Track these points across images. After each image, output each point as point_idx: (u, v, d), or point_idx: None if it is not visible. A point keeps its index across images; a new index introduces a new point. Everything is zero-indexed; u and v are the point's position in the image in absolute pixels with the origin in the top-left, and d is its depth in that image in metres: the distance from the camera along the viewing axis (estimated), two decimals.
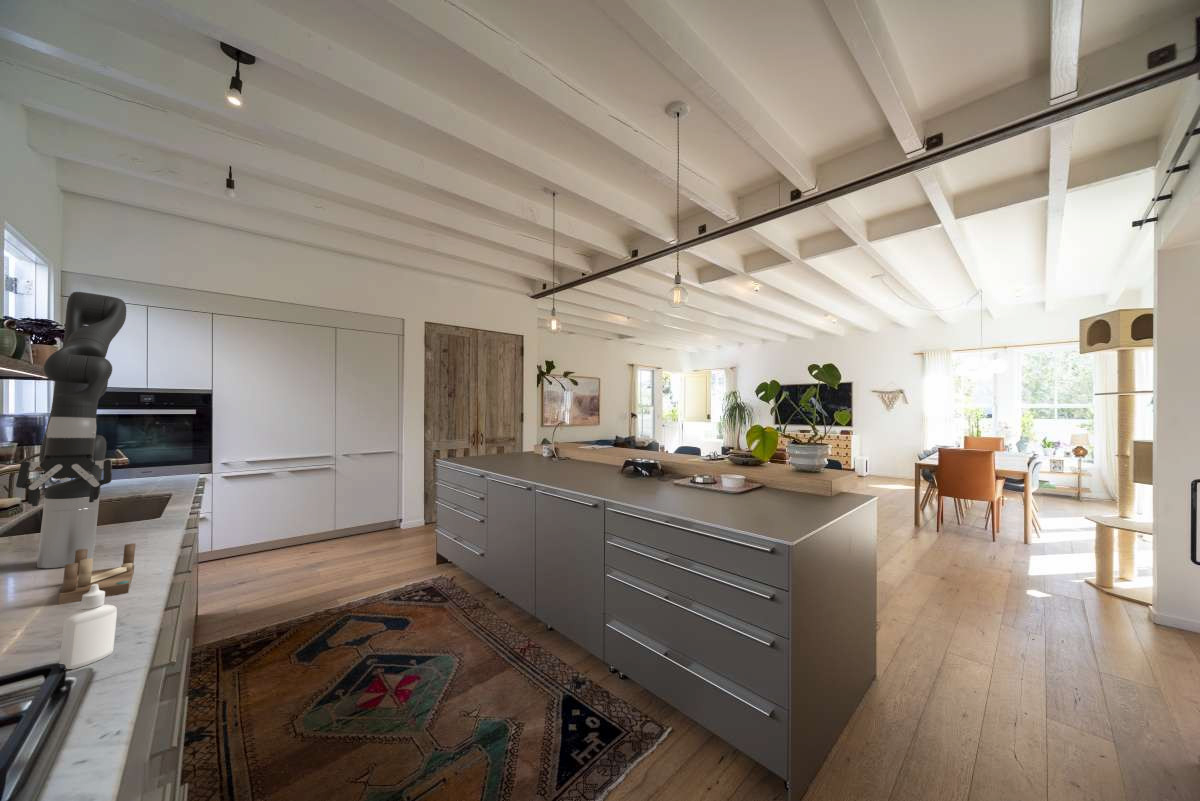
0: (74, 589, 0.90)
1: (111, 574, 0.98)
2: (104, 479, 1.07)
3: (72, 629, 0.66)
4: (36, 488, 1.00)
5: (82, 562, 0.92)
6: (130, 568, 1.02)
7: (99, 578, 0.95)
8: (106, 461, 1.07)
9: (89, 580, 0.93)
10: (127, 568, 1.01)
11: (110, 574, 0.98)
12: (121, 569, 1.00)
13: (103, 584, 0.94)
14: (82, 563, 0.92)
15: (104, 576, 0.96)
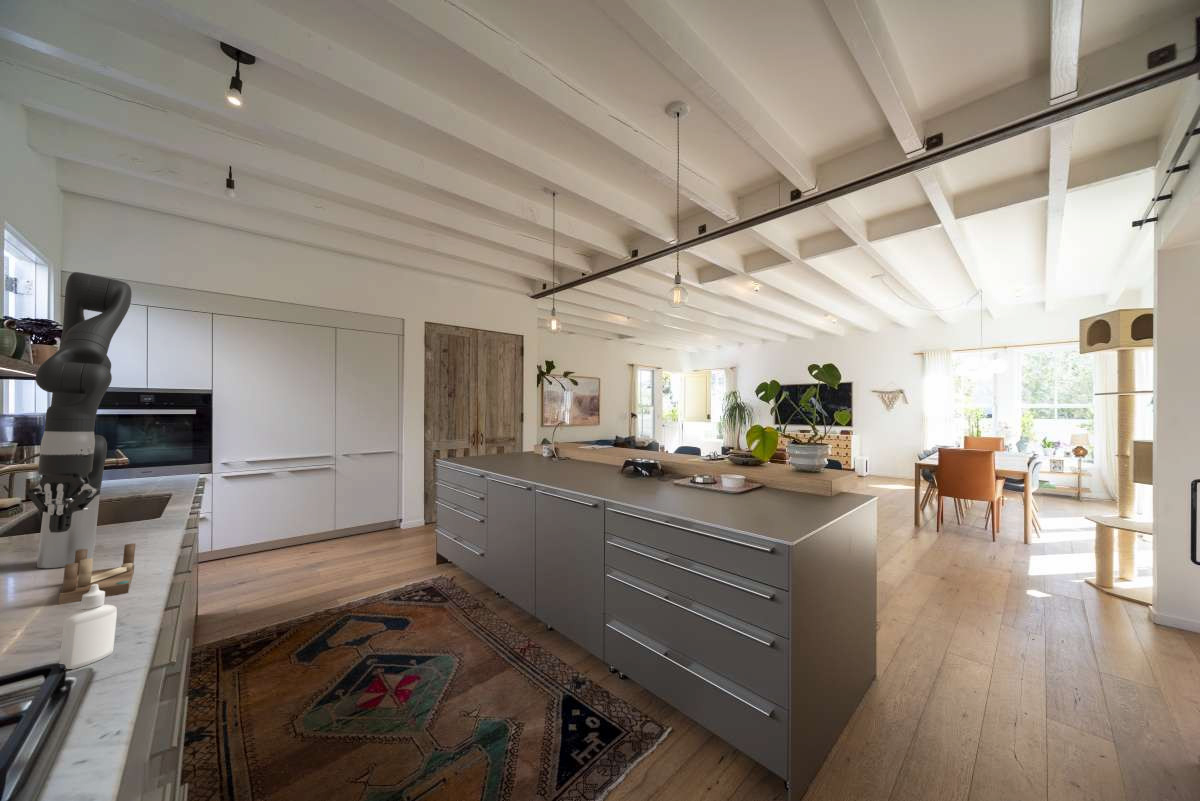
0: (74, 589, 0.90)
1: (111, 574, 0.98)
2: None
3: (72, 629, 0.66)
4: None
5: (82, 562, 0.92)
6: (130, 568, 1.02)
7: (99, 578, 0.95)
8: None
9: (89, 580, 0.93)
10: (127, 568, 1.01)
11: (110, 574, 0.98)
12: (121, 569, 1.00)
13: (103, 584, 0.94)
14: (82, 563, 0.92)
15: (104, 576, 0.96)
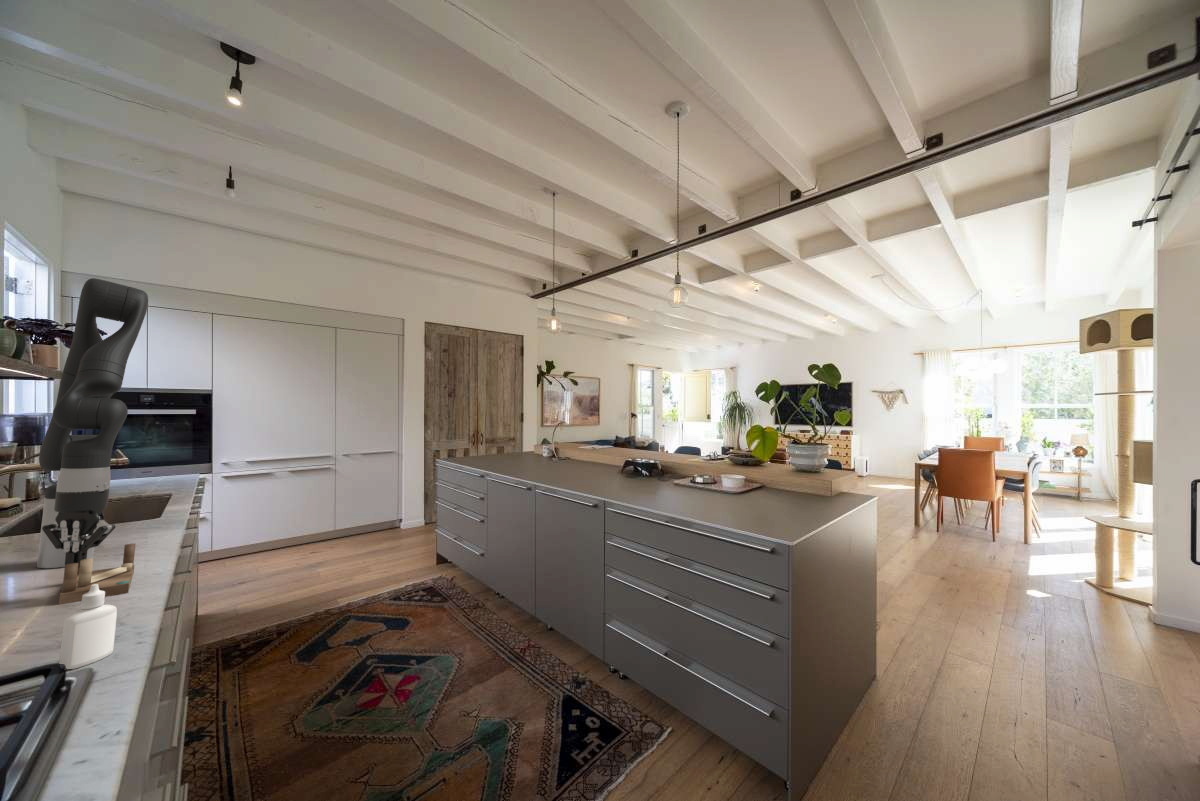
0: (74, 589, 0.90)
1: (111, 574, 0.98)
2: None
3: (72, 629, 0.66)
4: None
5: (82, 562, 0.92)
6: (130, 568, 1.02)
7: (99, 578, 0.95)
8: None
9: (89, 580, 0.93)
10: (127, 568, 1.01)
11: (110, 574, 0.98)
12: (121, 569, 1.00)
13: (103, 584, 0.94)
14: (82, 563, 0.92)
15: (104, 576, 0.96)
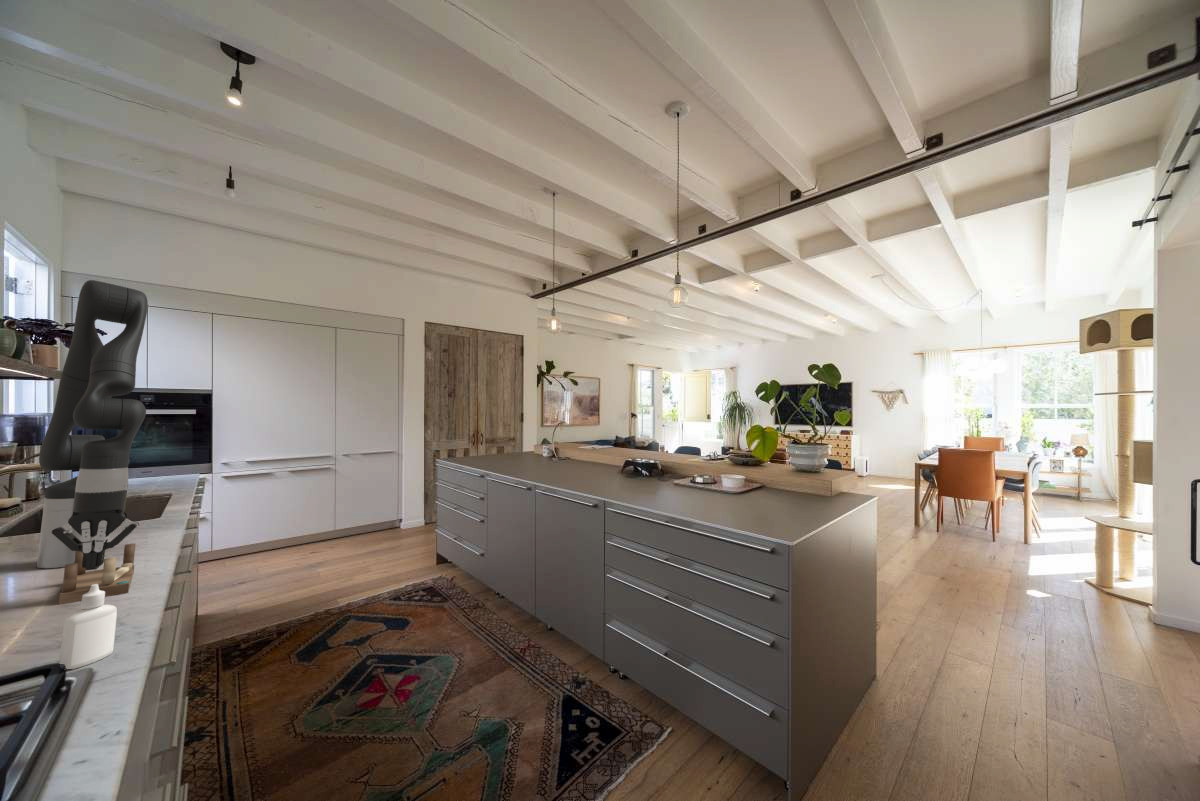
0: (74, 589, 0.90)
1: (122, 573, 0.99)
2: None
3: (72, 629, 0.66)
4: None
5: (109, 561, 0.94)
6: (131, 567, 1.02)
7: (117, 577, 0.96)
8: None
9: (114, 578, 0.95)
10: (130, 567, 1.02)
11: (122, 573, 0.98)
12: (126, 568, 1.01)
13: (103, 584, 0.94)
14: (108, 562, 0.94)
15: (119, 575, 0.97)
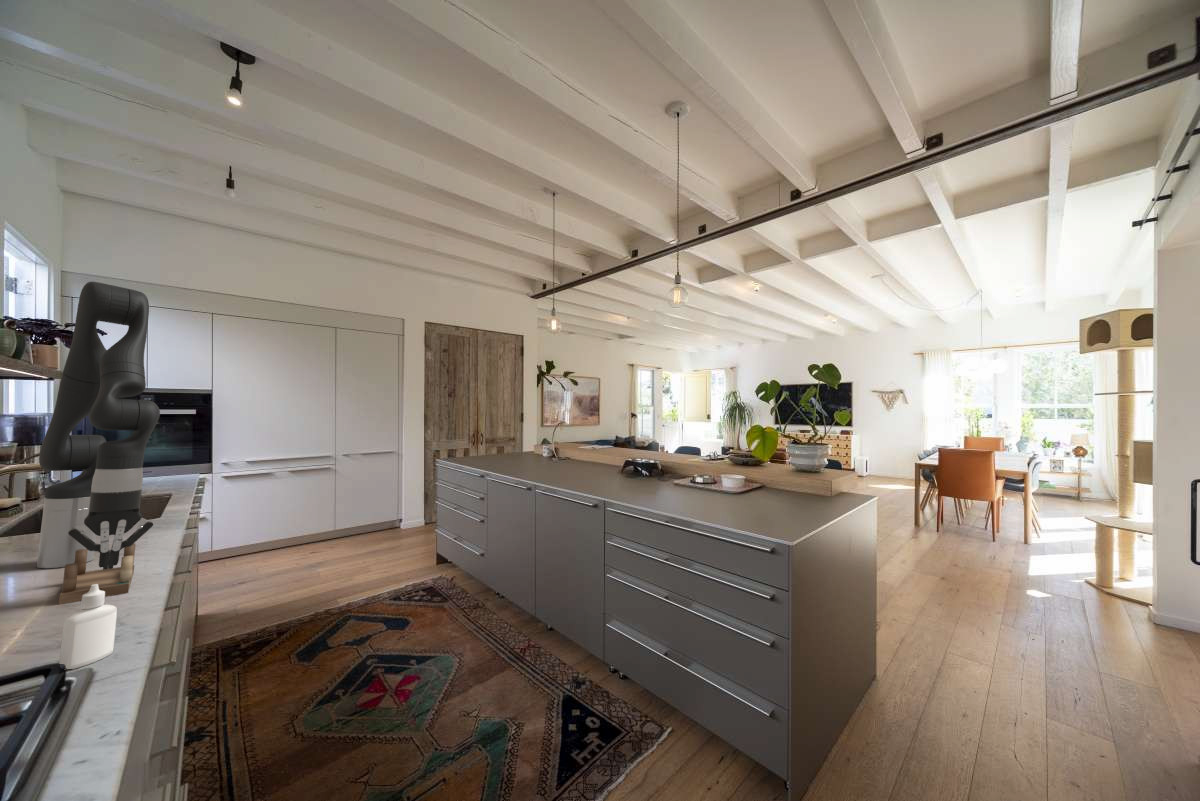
0: (74, 589, 0.90)
1: None
2: None
3: (72, 629, 0.66)
4: None
5: (128, 559, 0.95)
6: None
7: None
8: None
9: None
10: None
11: None
12: None
13: (103, 584, 0.94)
14: (128, 560, 0.95)
15: None
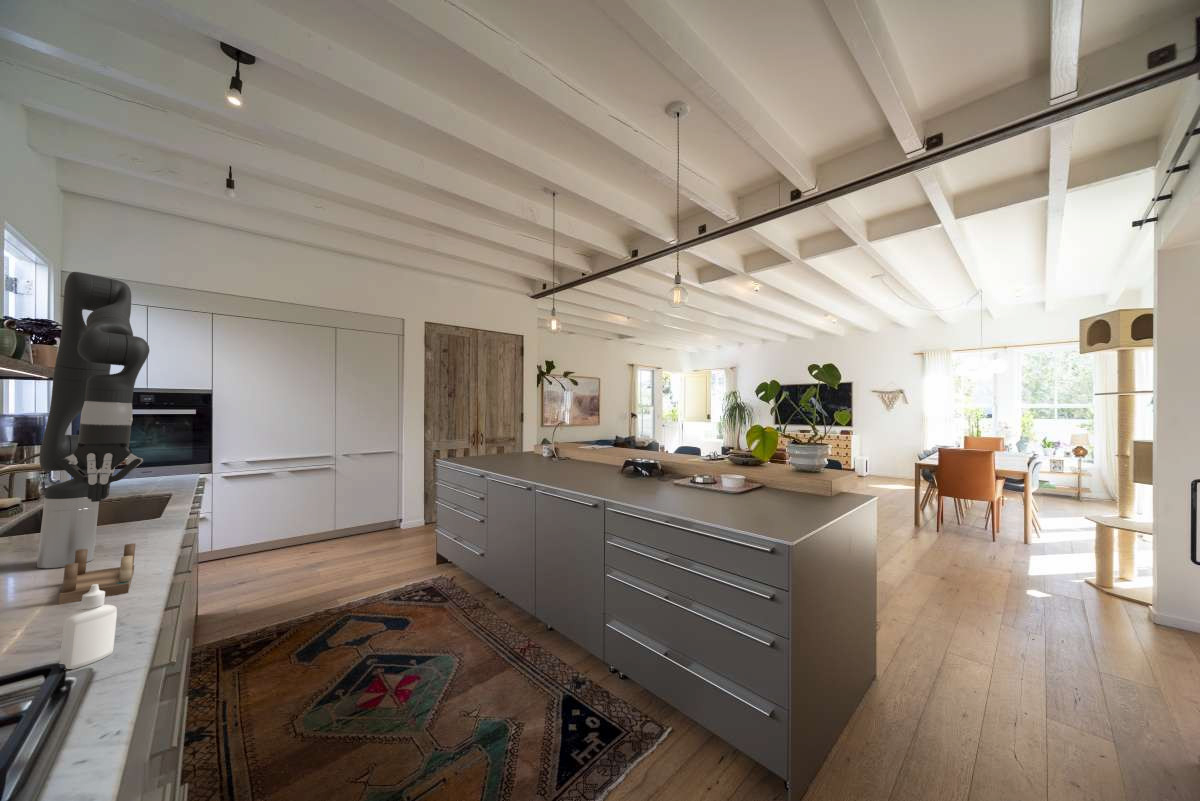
0: (74, 589, 0.90)
1: None
2: None
3: (72, 629, 0.66)
4: None
5: (127, 559, 0.95)
6: None
7: None
8: None
9: None
10: None
11: None
12: None
13: (103, 584, 0.94)
14: (127, 560, 0.95)
15: None
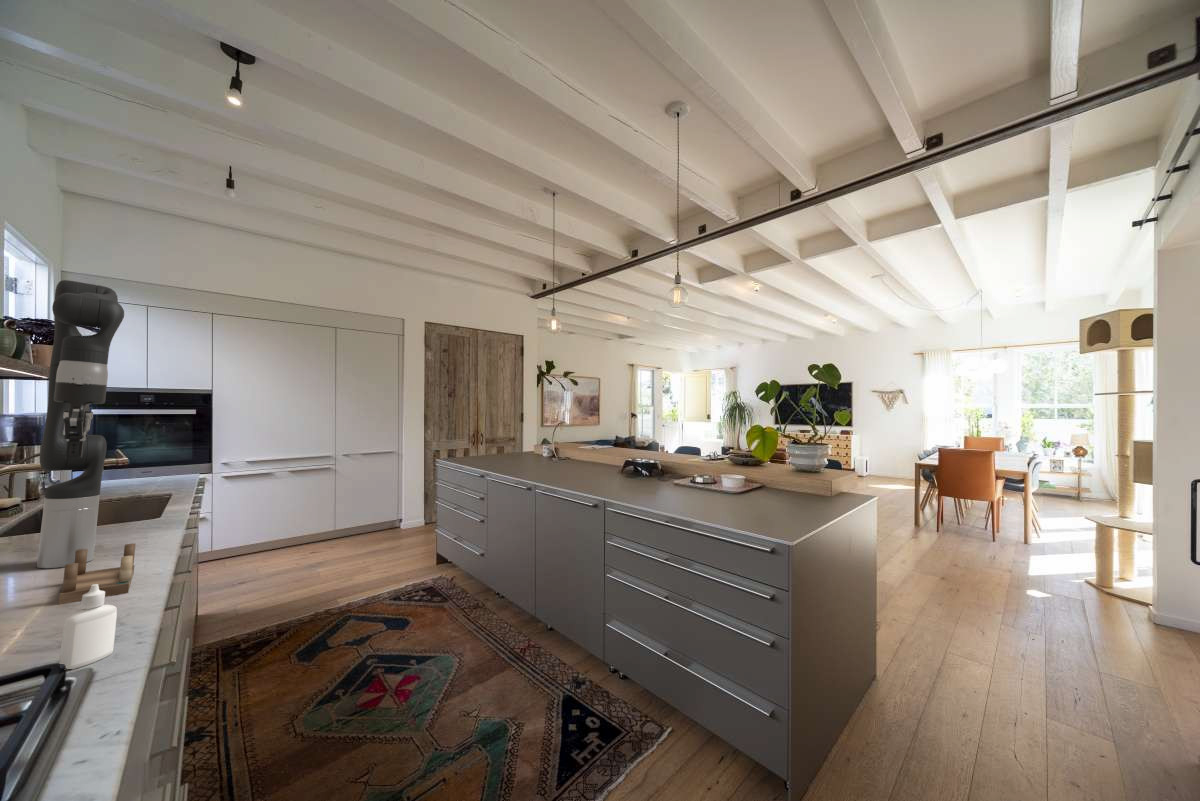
0: (74, 589, 0.90)
1: None
2: (86, 433, 1.00)
3: (72, 629, 0.66)
4: None
5: (127, 559, 0.95)
6: None
7: None
8: None
9: None
10: None
11: None
12: None
13: (103, 584, 0.94)
14: (127, 560, 0.95)
15: None
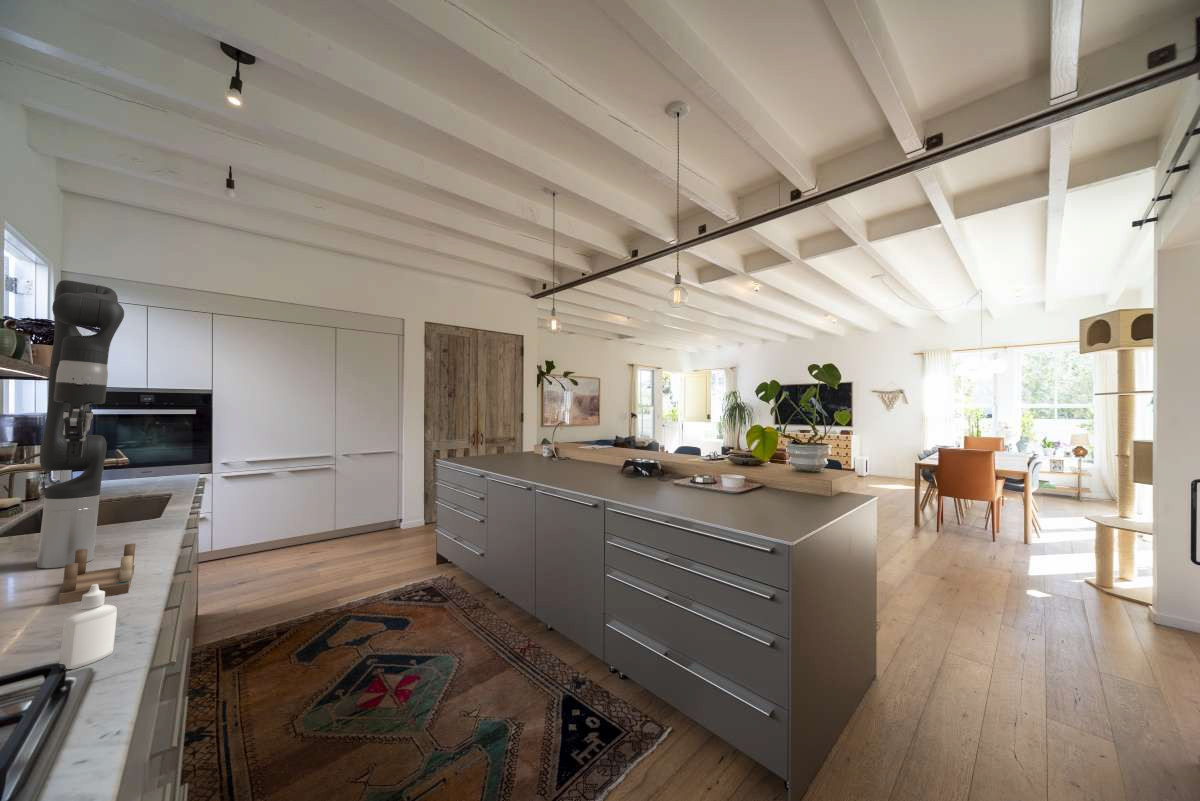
0: (74, 589, 0.90)
1: None
2: (86, 433, 1.00)
3: (72, 629, 0.66)
4: None
5: (127, 559, 0.95)
6: None
7: None
8: None
9: None
10: None
11: None
12: None
13: (103, 584, 0.94)
14: (127, 560, 0.95)
15: None
